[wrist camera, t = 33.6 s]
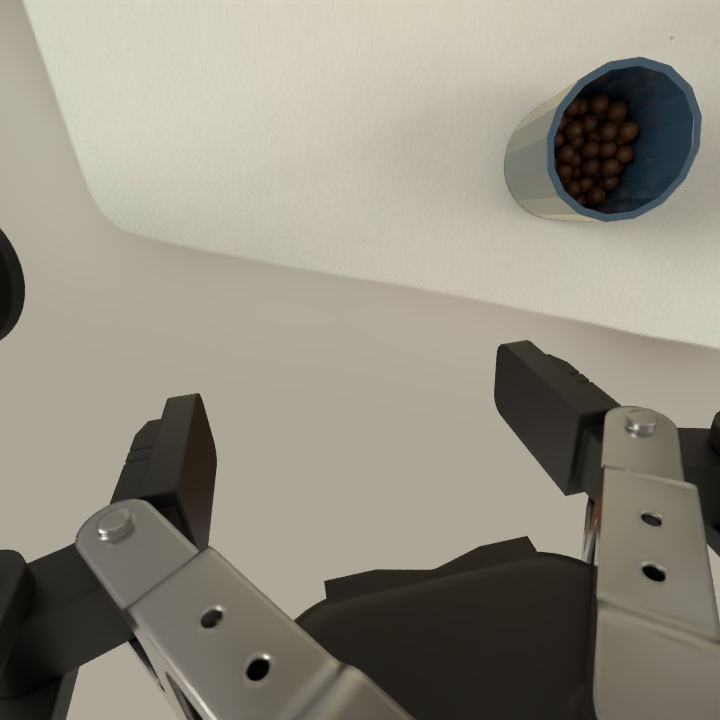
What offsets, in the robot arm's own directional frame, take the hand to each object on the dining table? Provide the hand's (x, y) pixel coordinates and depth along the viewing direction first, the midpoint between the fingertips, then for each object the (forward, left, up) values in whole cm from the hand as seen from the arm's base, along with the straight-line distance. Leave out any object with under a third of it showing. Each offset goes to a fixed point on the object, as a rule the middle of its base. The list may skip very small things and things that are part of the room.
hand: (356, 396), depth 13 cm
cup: (+12, +6, -20) cm, 24 cm away
